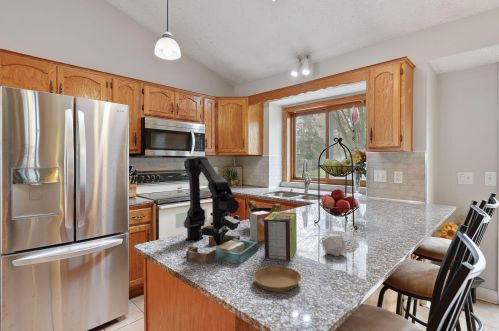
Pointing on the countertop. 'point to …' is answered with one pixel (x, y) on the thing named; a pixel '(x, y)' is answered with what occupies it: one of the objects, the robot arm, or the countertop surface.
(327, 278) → the countertop surface
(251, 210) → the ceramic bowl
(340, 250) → the white faceted lump
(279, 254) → the protein box
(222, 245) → the cream block
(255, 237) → the small box
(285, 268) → the plant saucer
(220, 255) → the box
